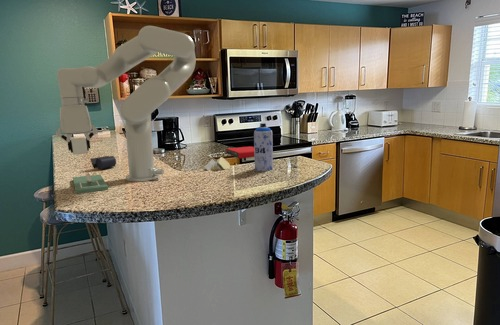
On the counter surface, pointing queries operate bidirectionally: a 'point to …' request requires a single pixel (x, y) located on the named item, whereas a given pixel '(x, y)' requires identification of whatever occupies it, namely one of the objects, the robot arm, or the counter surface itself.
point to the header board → (83, 186)
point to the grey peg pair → (89, 179)
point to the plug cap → (79, 145)
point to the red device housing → (241, 152)
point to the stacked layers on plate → (217, 164)
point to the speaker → (103, 162)
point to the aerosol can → (263, 148)
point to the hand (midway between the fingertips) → (79, 150)
